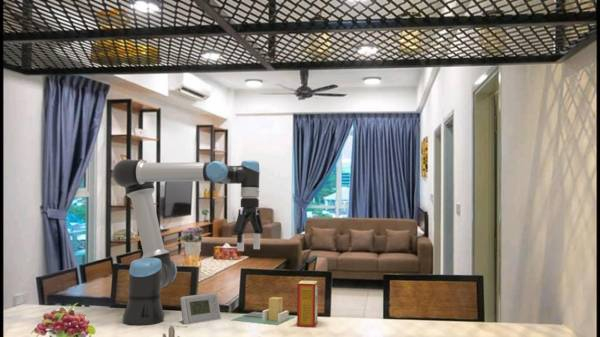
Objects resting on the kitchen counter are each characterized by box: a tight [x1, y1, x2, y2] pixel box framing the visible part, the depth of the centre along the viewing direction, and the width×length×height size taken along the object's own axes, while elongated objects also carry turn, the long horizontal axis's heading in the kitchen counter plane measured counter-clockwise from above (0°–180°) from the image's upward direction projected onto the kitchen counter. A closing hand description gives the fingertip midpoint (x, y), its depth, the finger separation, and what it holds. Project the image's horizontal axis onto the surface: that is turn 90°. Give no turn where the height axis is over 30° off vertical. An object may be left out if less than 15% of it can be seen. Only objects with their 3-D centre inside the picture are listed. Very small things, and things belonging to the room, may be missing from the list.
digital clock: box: [179, 292, 222, 328], centre depth 183 cm, size 16×9×11 cm, turn 121°
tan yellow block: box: [268, 296, 284, 321], centre depth 185 cm, size 4×4×8 cm
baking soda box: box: [296, 279, 319, 328], centre depth 184 cm, size 10×6×16 cm
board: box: [230, 308, 296, 326], centre depth 187 cm, size 20×17×5 cm
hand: (248, 250), depth 198 cm, fingers open, 13 cm apart
